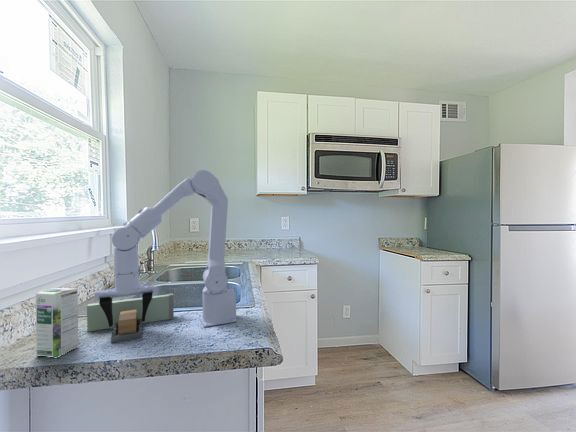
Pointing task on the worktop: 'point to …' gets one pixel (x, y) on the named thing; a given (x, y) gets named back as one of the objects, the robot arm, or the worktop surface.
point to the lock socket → (128, 336)
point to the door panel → (156, 310)
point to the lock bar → (127, 322)
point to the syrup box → (56, 321)
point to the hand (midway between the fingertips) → (127, 322)
